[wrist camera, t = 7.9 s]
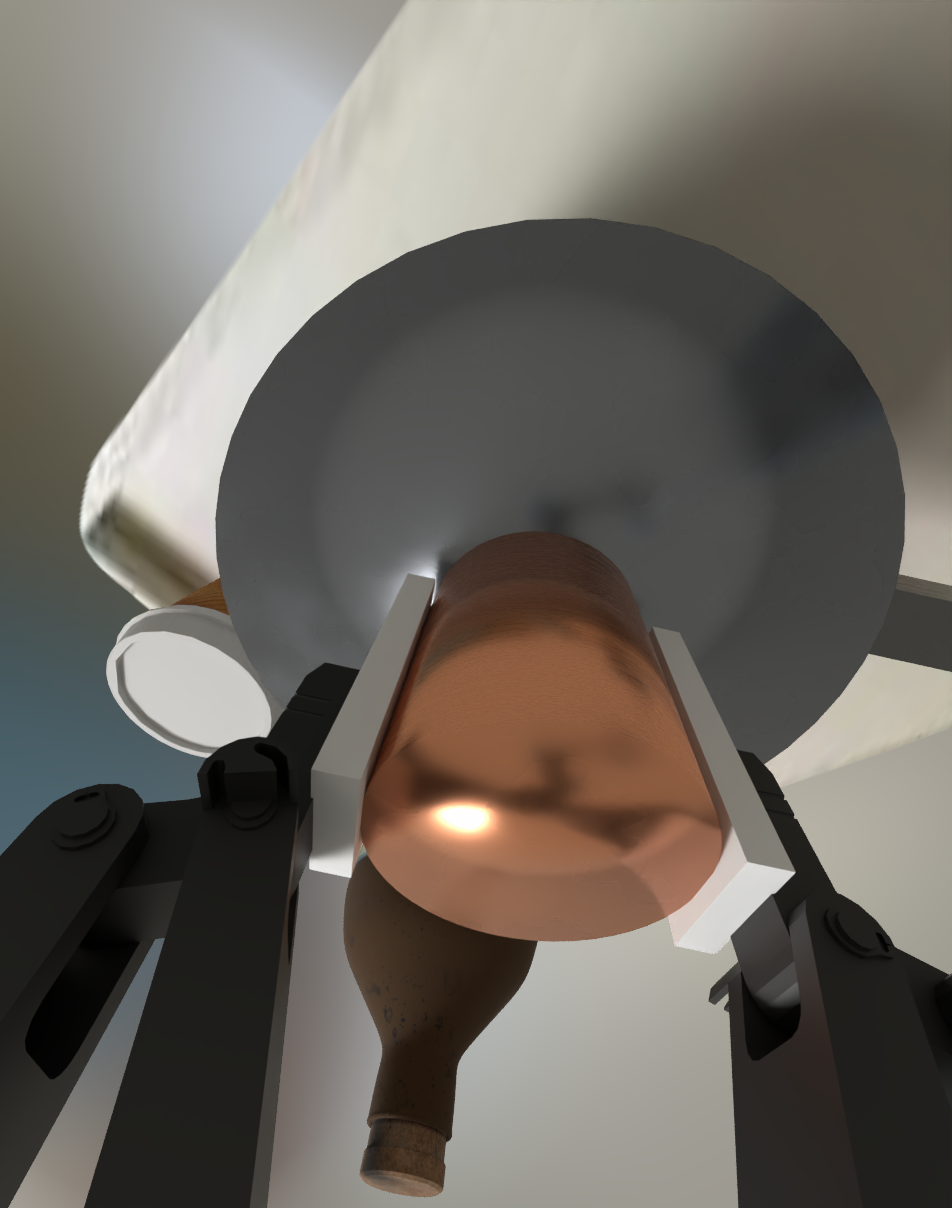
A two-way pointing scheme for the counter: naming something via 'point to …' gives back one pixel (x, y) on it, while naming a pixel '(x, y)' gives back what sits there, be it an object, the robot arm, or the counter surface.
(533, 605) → the cooker lid
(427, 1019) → the olive oil
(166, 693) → the disposable coffee cup
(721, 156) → the counter surface
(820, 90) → the counter surface
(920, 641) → the cooker body
